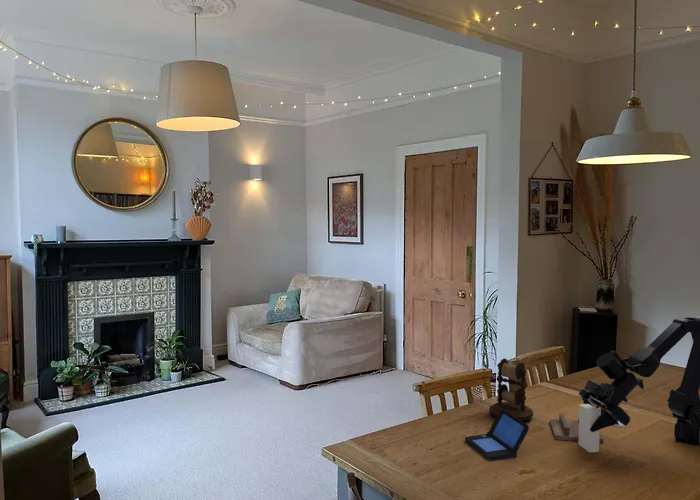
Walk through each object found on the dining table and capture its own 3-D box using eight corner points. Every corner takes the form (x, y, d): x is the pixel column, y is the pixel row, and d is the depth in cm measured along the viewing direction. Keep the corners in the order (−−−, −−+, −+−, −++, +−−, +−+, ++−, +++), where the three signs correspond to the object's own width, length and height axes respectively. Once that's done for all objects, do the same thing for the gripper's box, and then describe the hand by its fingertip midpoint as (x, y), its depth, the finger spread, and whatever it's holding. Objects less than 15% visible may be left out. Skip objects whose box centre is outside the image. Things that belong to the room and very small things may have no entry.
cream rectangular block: (587, 443, 174) (588, 403, 174) (599, 451, 169) (600, 410, 168) (578, 444, 174) (579, 404, 173) (589, 452, 168) (590, 411, 167)
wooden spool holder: (541, 417, 197) (542, 361, 196) (516, 428, 188) (517, 368, 187) (505, 406, 209) (506, 353, 207) (480, 416, 199) (481, 359, 198)
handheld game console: (463, 441, 178) (463, 412, 177) (501, 436, 181) (501, 408, 181) (489, 462, 163) (489, 430, 162) (530, 456, 166) (530, 425, 166)
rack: (593, 425, 190) (594, 414, 189) (603, 443, 175) (603, 431, 175) (549, 422, 193) (549, 411, 192) (555, 439, 178) (555, 428, 178)
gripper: (584, 363, 180) (551, 399, 179) (621, 380, 161) (585, 420, 160) (607, 386, 181) (574, 422, 180) (646, 405, 163) (610, 446, 162)
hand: (584, 426), depth 171 cm, fingers closed on cream rectangular block, 6 cm apart
